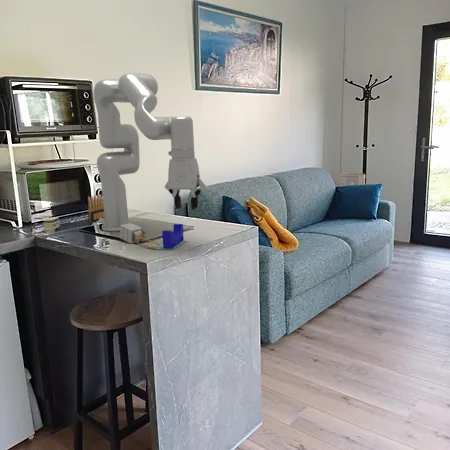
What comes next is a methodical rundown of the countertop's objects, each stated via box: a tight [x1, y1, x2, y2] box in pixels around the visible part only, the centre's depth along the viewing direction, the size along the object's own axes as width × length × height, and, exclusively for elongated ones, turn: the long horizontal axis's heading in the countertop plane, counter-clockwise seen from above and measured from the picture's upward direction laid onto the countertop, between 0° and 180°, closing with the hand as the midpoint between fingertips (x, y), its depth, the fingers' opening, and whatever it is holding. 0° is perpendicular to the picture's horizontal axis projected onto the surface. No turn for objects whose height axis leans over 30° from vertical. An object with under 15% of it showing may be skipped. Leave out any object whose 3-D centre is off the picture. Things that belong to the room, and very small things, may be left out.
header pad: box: [146, 239, 188, 251], centre depth 161 cm, size 10×12×1 cm
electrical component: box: [119, 222, 164, 250], centre depth 163 cm, size 24×6×5 cm, turn 48°
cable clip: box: [161, 223, 185, 249], centre depth 160 cm, size 12×4×6 cm, turn 165°
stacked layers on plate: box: [42, 216, 61, 233], centre depth 191 cm, size 10×9×6 cm
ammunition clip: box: [87, 193, 105, 224], centre depth 209 cm, size 11×2×12 cm, turn 150°
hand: (186, 207), depth 155 cm, fingers open, 5 cm apart
